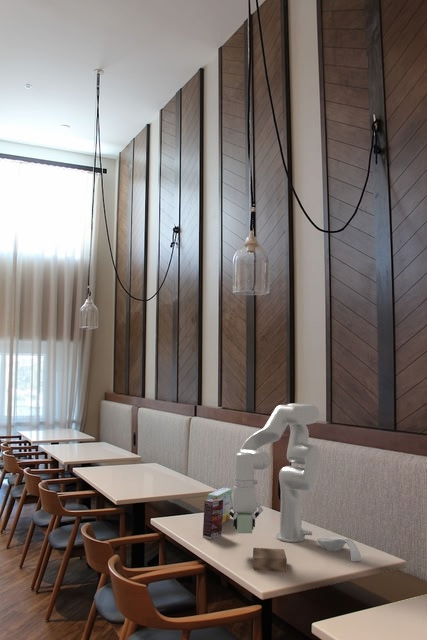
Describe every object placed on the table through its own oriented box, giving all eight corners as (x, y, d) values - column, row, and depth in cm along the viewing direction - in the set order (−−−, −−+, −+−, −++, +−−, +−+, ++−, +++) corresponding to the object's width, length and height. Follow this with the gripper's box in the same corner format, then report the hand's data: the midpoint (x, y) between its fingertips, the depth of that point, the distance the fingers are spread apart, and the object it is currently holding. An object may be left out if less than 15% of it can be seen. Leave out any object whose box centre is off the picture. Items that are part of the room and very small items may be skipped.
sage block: (250, 529, 229) (250, 511, 230) (252, 533, 223) (252, 515, 224) (236, 529, 229) (236, 511, 229) (237, 533, 223) (237, 515, 224)
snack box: (216, 528, 262) (217, 495, 264) (205, 526, 264) (206, 494, 266) (231, 518, 282) (232, 488, 283) (220, 517, 284) (221, 486, 285)
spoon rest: (311, 546, 240) (312, 528, 241) (334, 544, 244) (335, 527, 245) (344, 563, 218) (345, 544, 219) (369, 561, 222) (369, 542, 223)
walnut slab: (283, 562, 217) (284, 549, 217) (286, 573, 205) (286, 559, 205) (252, 561, 217) (253, 547, 218) (253, 571, 205) (254, 557, 206)
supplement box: (210, 539, 243) (212, 502, 245) (202, 537, 246) (203, 500, 248) (222, 535, 250) (223, 499, 252) (214, 533, 253) (215, 497, 255)
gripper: (264, 481, 232) (264, 526, 230) (223, 481, 231) (222, 525, 230) (266, 485, 224) (266, 531, 223) (224, 485, 224) (223, 531, 222)
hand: (244, 528), depth 226 cm, fingers closed on sage block, 6 cm apart
